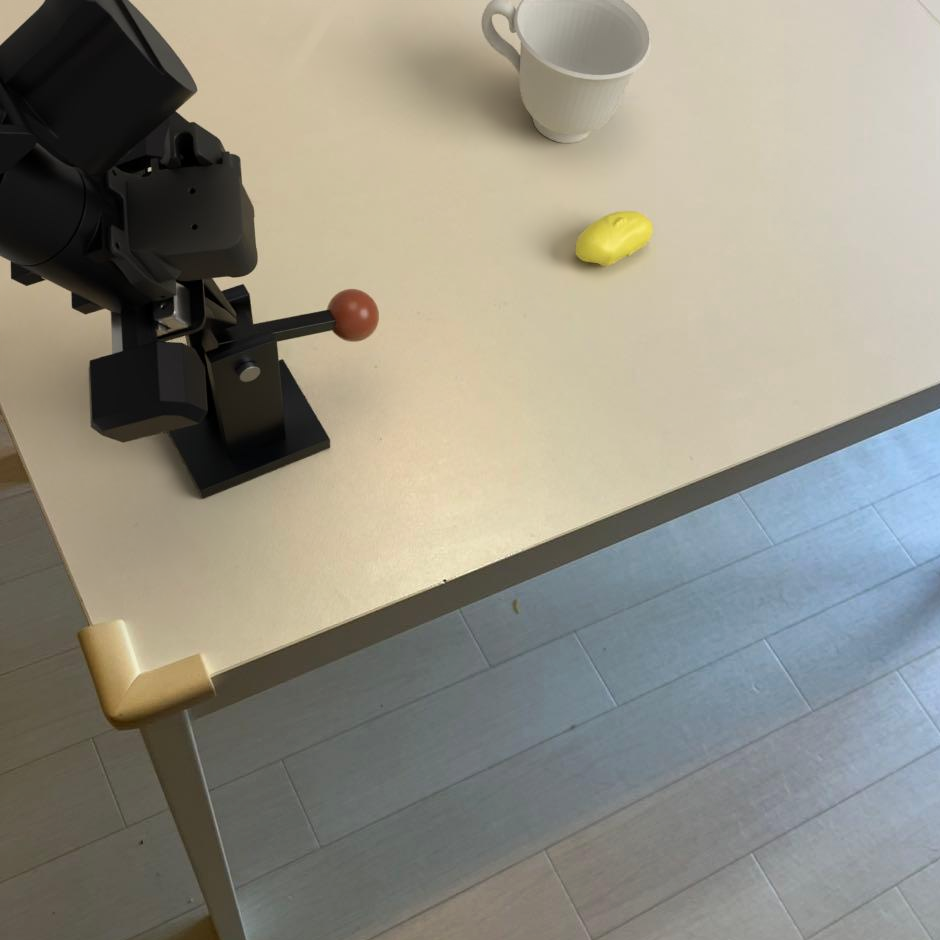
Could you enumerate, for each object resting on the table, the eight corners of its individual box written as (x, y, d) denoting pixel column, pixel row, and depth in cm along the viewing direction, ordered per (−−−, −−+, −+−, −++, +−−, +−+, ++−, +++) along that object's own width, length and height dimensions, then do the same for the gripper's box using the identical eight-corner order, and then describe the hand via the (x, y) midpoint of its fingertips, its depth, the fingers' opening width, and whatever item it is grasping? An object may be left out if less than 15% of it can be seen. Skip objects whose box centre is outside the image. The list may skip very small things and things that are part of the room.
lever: (358, 310, 74) (369, 274, 71) (381, 346, 73) (393, 312, 70) (195, 342, 67) (200, 303, 65) (218, 383, 66) (224, 346, 64)
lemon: (658, 256, 91) (670, 225, 87) (583, 283, 88) (592, 251, 84) (633, 223, 92) (644, 190, 89) (558, 248, 89) (567, 215, 86)
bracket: (283, 367, 79) (273, 253, 68) (330, 448, 77) (328, 343, 65) (157, 414, 75) (124, 301, 64) (202, 499, 73) (176, 398, 62)
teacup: (491, 51, 99) (505, -46, 90) (636, 101, 99) (664, 9, 91) (452, 132, 93) (464, 36, 84) (607, 185, 94) (634, 95, 85)
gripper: (187, 350, 46) (356, 435, 61) (165, -9, 50) (329, 153, 64) (-7, 404, 49) (198, 472, 64) (-14, 63, 53) (181, 201, 68)
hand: (230, 321), depth 65 cm, fingers closed
